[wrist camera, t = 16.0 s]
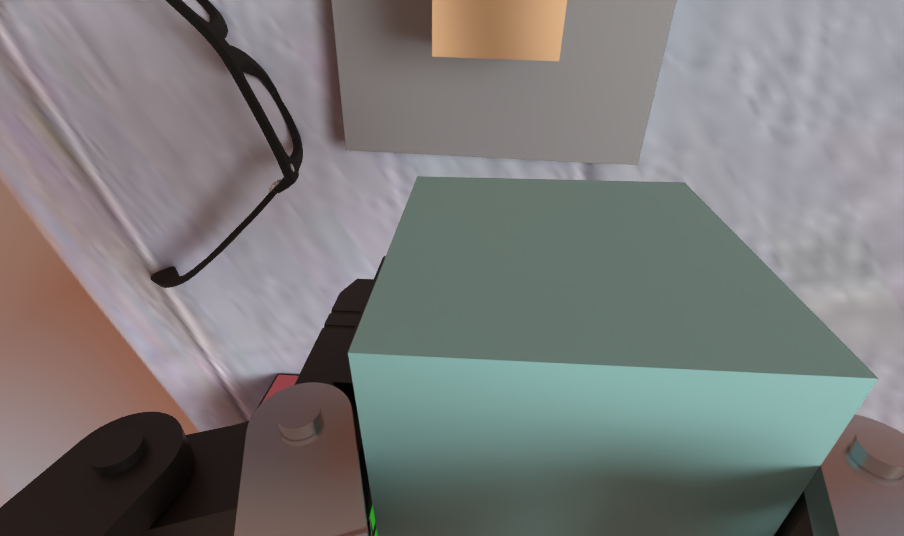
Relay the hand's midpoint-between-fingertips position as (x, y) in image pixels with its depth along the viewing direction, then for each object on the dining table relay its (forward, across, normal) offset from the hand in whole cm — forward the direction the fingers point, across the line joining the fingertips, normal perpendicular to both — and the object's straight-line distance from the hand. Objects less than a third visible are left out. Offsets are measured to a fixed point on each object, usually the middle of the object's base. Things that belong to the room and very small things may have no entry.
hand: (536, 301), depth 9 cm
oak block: (+17, +1, -6) cm, 18 cm away
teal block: (0, 0, 0) cm, 0 cm away
